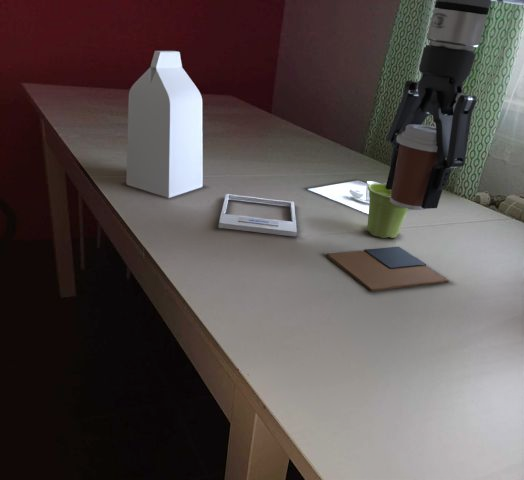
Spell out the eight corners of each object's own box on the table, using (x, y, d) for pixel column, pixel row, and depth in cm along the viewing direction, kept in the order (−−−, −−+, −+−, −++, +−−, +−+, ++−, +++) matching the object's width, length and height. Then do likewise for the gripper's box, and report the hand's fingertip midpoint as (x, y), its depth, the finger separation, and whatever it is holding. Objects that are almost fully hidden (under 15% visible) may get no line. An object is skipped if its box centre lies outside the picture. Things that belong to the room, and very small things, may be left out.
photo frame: (218, 221, 99) (226, 193, 114) (218, 227, 100) (225, 198, 115) (297, 230, 100) (294, 201, 115) (296, 236, 101) (293, 206, 116)
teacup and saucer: (343, 196, 127) (346, 179, 124) (363, 192, 132) (367, 175, 129) (372, 208, 122) (376, 190, 119) (393, 203, 127) (397, 186, 124)
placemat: (448, 282, 91) (449, 279, 91) (371, 291, 85) (372, 288, 84) (398, 249, 102) (398, 246, 101) (326, 255, 95) (326, 252, 95)
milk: (168, 198, 111) (171, 56, 97) (126, 184, 116) (123, 46, 101) (202, 186, 120) (209, 55, 106) (162, 174, 125) (163, 47, 111)
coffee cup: (445, 207, 92) (468, 134, 85) (418, 216, 86) (440, 137, 79) (400, 192, 97) (418, 121, 90) (371, 199, 91) (388, 124, 84)
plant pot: (366, 221, 113) (375, 180, 109) (409, 232, 110) (421, 190, 106) (352, 233, 106) (362, 190, 101) (399, 246, 103) (411, 201, 98)
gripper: (386, 35, 85) (356, 178, 97) (486, 53, 69) (435, 222, 81) (423, 40, 88) (389, 178, 100) (527, 58, 72) (472, 219, 84)
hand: (410, 197), depth 91 cm, fingers closed on coffee cup, 9 cm apart
